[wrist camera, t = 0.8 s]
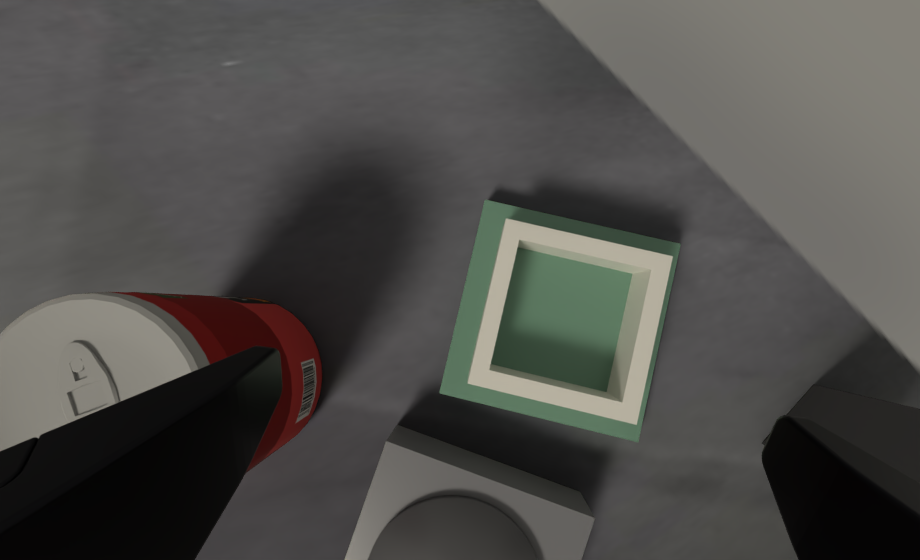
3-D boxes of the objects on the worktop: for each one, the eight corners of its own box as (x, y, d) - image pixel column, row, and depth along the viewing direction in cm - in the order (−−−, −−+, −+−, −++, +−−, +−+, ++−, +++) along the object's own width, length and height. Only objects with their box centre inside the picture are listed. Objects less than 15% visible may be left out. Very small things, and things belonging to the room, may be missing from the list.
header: (629, 435, 24) (657, 458, 20) (441, 388, 25) (435, 403, 21) (670, 246, 25) (705, 236, 21) (484, 204, 25) (486, 186, 21)
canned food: (272, 269, 25) (116, 241, 14) (357, 392, 25) (264, 460, 14) (156, 353, 25) (-91, 390, 14) (239, 478, 25) (50, 615, 14)
